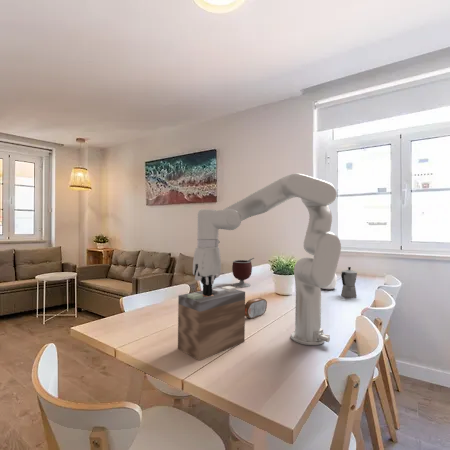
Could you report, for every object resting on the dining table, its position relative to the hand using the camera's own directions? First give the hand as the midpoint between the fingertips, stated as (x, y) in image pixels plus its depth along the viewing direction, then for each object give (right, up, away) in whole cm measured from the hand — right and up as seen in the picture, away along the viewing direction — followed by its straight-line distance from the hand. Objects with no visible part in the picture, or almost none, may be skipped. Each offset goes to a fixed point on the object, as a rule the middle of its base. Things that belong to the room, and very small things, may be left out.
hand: (207, 294), depth 105 cm
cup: (+76, -19, +96) cm, 124 cm away
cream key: (+8, -1, +8) cm, 11 cm away
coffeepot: (+82, -19, +76) cm, 113 cm away
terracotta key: (0, -3, 0) cm, 3 cm away
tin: (+21, -19, +35) cm, 45 cm away
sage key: (-4, -1, -4) cm, 6 cm away
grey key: (+4, -1, +4) cm, 6 cm away
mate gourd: (+19, -18, +102) cm, 105 cm away
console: (+2, -19, +2) cm, 19 cm away
